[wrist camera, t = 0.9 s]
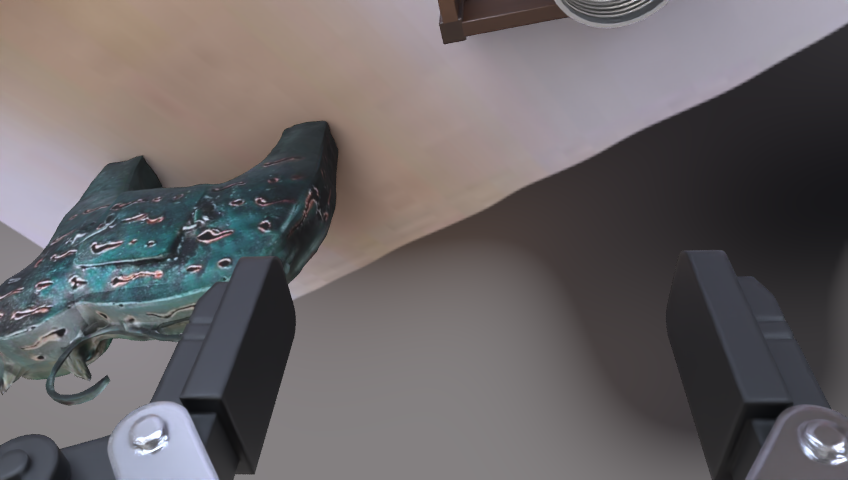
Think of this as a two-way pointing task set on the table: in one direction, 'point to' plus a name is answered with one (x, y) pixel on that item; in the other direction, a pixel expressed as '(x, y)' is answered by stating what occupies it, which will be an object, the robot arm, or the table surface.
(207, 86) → the table surface
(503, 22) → the crate
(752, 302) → the robot arm
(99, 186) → the ceramic cat
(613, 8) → the metal water bottle
